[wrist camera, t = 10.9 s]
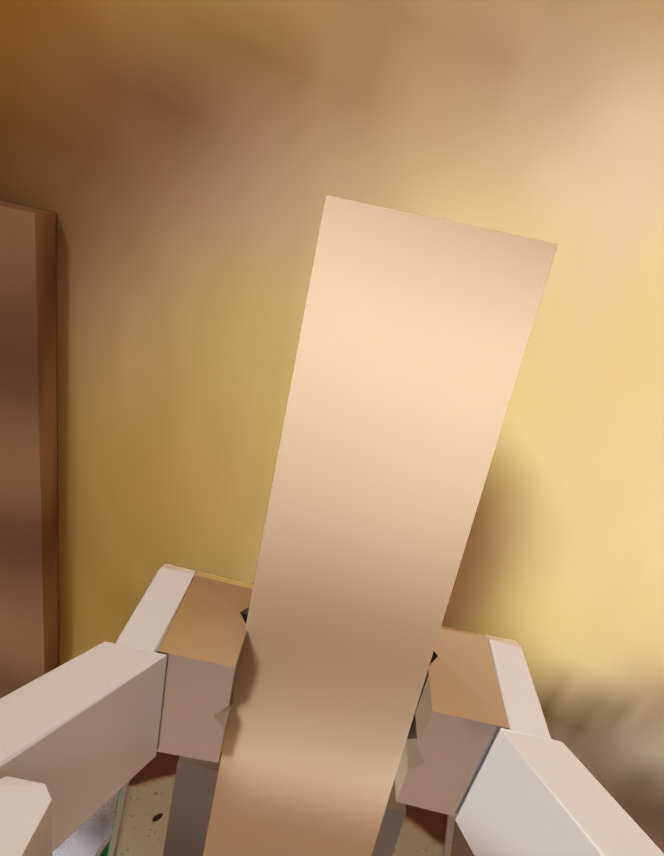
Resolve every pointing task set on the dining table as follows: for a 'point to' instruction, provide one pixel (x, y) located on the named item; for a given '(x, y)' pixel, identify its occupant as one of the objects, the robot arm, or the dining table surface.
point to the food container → (151, 800)
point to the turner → (363, 529)
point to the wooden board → (28, 446)
